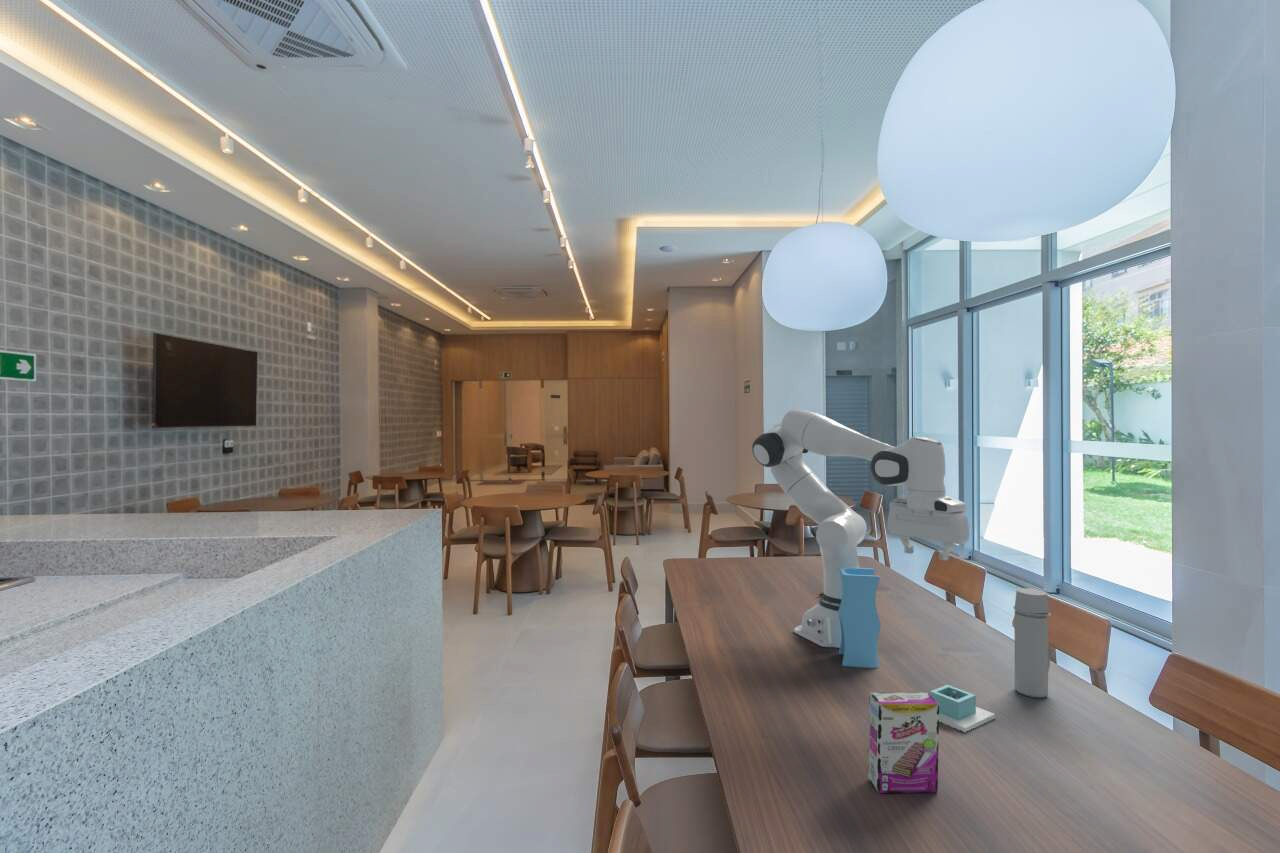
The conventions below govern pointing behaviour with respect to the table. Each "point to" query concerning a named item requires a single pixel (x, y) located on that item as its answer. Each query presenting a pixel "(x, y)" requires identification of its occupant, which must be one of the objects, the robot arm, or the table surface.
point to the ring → (954, 702)
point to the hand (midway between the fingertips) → (926, 556)
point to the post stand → (967, 718)
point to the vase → (859, 617)
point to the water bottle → (1031, 642)
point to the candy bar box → (903, 742)
